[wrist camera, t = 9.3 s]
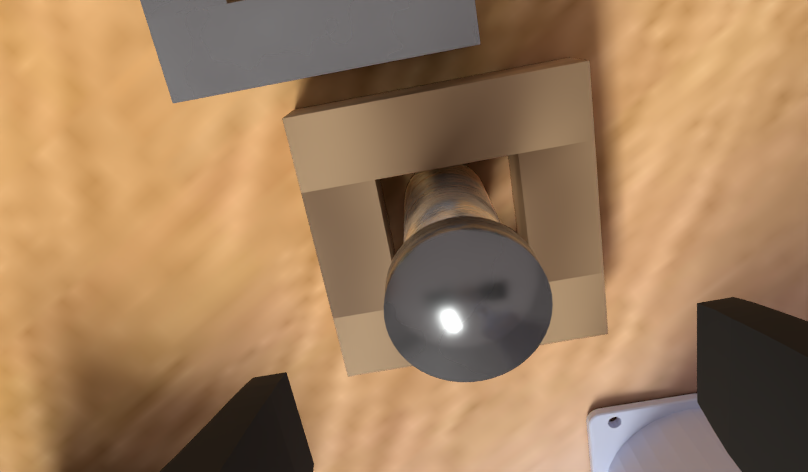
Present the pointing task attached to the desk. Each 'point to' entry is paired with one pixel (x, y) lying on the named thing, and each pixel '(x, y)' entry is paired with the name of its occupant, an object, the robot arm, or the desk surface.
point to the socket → (441, 147)
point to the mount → (295, 38)
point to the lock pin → (463, 283)
